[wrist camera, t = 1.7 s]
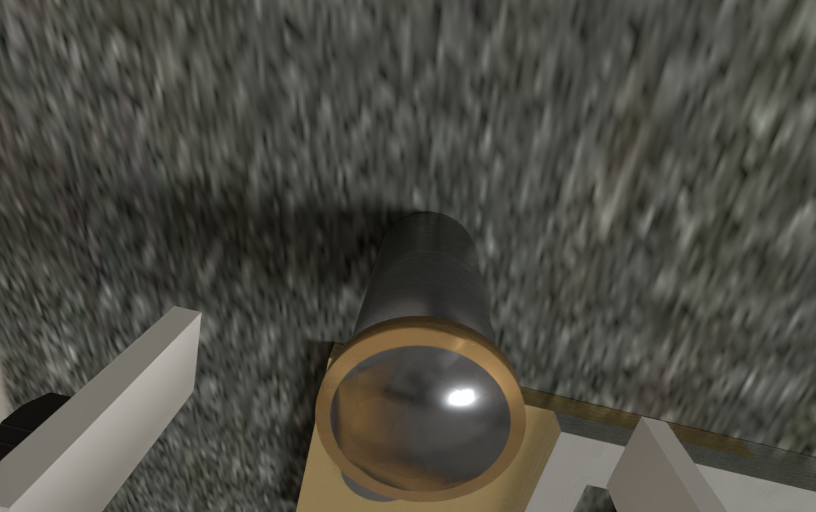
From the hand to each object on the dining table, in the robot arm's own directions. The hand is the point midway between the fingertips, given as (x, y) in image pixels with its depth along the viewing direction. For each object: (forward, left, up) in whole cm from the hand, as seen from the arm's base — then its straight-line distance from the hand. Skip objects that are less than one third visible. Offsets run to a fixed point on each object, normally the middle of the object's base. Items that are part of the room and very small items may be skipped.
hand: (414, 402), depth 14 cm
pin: (0, 0, -11) cm, 11 cm away
